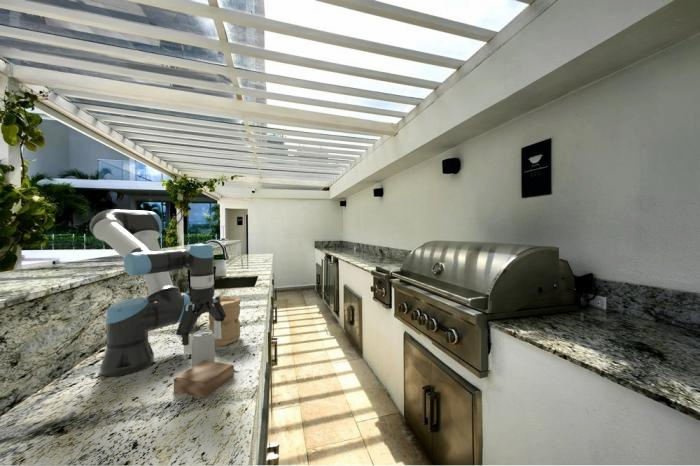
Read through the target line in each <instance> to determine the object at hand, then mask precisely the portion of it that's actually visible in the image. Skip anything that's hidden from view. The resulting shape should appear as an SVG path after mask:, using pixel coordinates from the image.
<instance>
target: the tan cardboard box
mask: <svg viewBox="0 0 700 466" xmlns="http://www.w3.org/2000/svg"><path fill="white" fill-rule="evenodd" d="M234 378H235V366H234V364H229V363H225V362H219V361H215V362H213V361H206V360H204V361H203V362H201V363H199V364H197V365H196V366H194V367H192V366H191V368H189V369H187V370H185V371H184V372H183V373H180V374H179V375H177V376H175V377H174V378H173V392H174V393H179V394H184V395H189V396H192V397H193V396H194V397H198V398H204V399H207V398H209V397H210V396H211V395H212V394H213V393H215V392H216V391H217V390H219V389H220V388H221V387H223V386H224V385H225V384H227V383H228V382H229V381H231V379H234Z"/></svg>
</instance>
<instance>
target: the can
mask: <svg viewBox="0 0 700 466" xmlns="http://www.w3.org/2000/svg"><path fill="white" fill-rule="evenodd" d="M215 349H216V348H215V335H214V334H213V333H212V331H211V330H209V329H203V330H198V331H196V332H195V333H193V334H192V354H190V357H191V358H190V359H191V360H190V361H191V362H190V363H191V364H190V366H191V368H192V367H194V366H196V365H197V364H199V363H201V362H203V361H204V360H206V361H213V362H216V361H215V360H216V355H215V354H216V352H215V351H216V350H215Z"/></svg>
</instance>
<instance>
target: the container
mask: <svg viewBox="0 0 700 466" xmlns="http://www.w3.org/2000/svg"><path fill="white" fill-rule="evenodd" d="M219 298H220V303H221V305H222V307H223V310H224V312H225V314H226V317H225V318H224V321H222V329H221V339H216V338H215V347H216V348H218V347H225V346H227V345H229V344H232V343H236V341H237V339H239V338H240V337H241V322H240V319H239V318H240V314H241V305H240V304H241V299H240V297H238V296H223V297H222V296H221V297H219ZM212 305H213V303H212ZM213 306H214V305H213ZM215 310H216V309H215ZM208 321H209V323H208V330H211V331H212V333H213V334H214V321H216V320H215V319H214V318H213V317H212V315H211V314H210V313H209V312H208Z"/></svg>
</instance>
